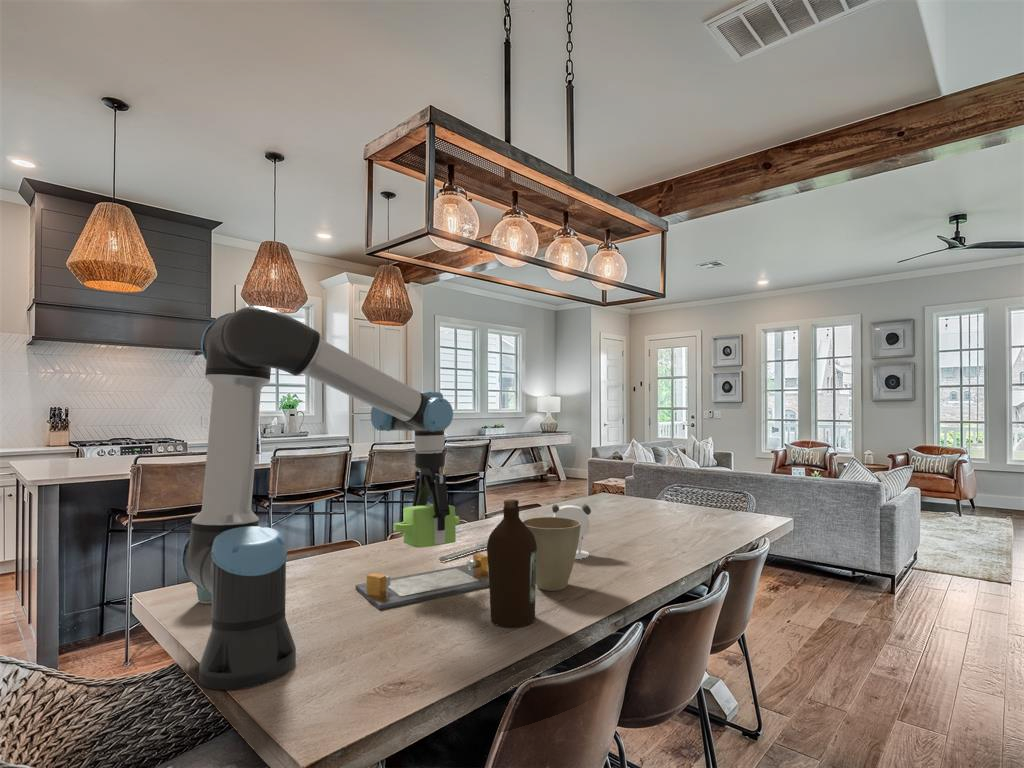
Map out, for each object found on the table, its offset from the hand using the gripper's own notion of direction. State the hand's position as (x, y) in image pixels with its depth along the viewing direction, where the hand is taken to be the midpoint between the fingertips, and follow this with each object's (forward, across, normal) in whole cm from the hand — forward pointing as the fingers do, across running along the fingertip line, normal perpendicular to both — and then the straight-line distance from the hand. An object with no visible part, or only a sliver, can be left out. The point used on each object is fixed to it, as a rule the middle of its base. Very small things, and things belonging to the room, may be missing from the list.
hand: (430, 539), depth 141 cm
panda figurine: (+12, +3, -48) cm, 50 cm away
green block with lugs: (+1, 0, 0) cm, 1 cm away
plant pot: (+12, -18, -25) cm, 33 cm away
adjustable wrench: (+12, +24, -24) cm, 36 cm away
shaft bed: (+12, 0, 0) cm, 12 cm away
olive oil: (+12, -31, -5) cm, 34 cm away
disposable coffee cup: (+12, +21, +47) cm, 53 cm away
